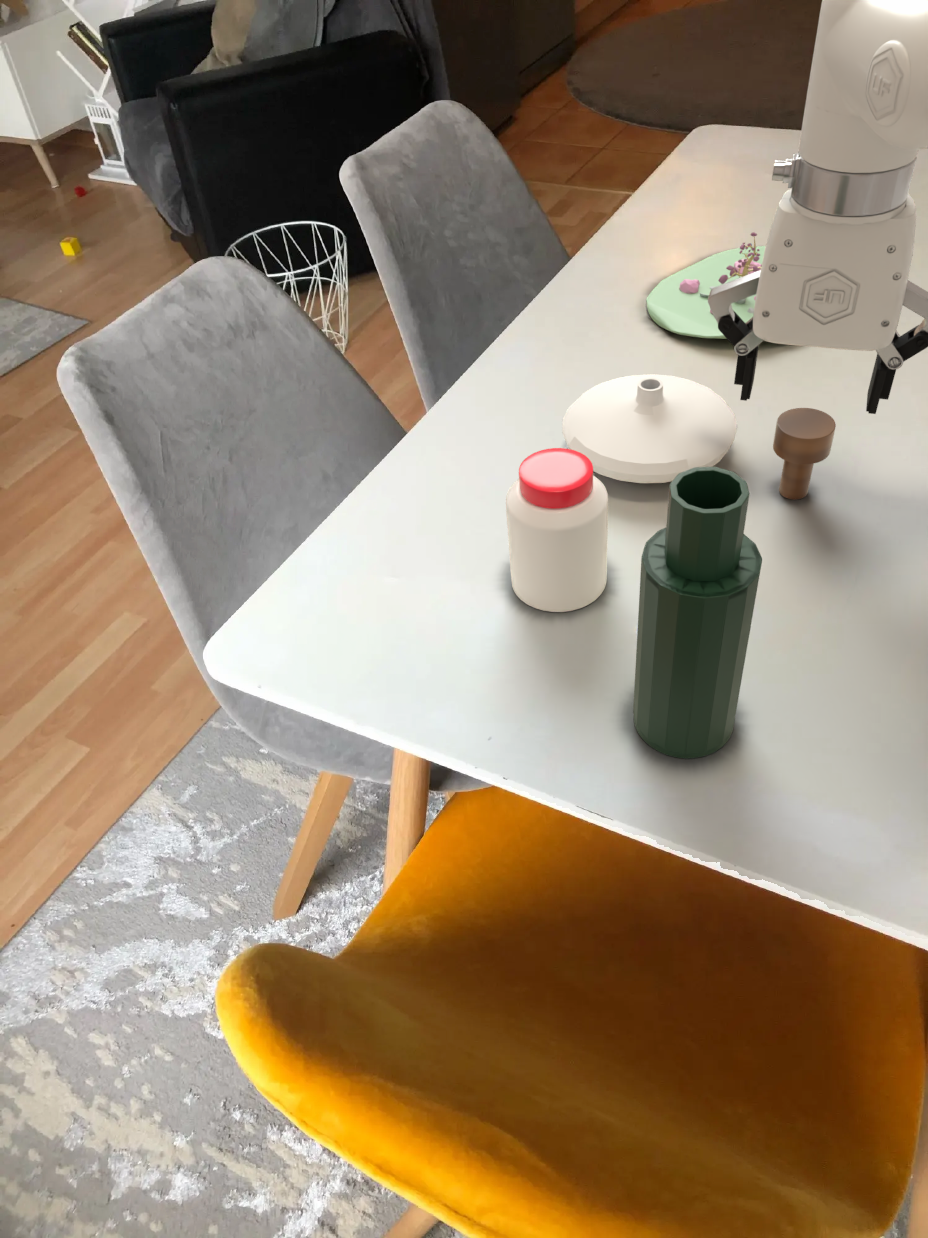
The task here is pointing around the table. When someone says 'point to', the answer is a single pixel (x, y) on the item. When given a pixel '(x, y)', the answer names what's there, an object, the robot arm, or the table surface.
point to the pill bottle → (557, 531)
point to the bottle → (695, 615)
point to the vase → (649, 427)
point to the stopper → (801, 447)
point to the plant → (703, 292)
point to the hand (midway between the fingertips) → (807, 397)
